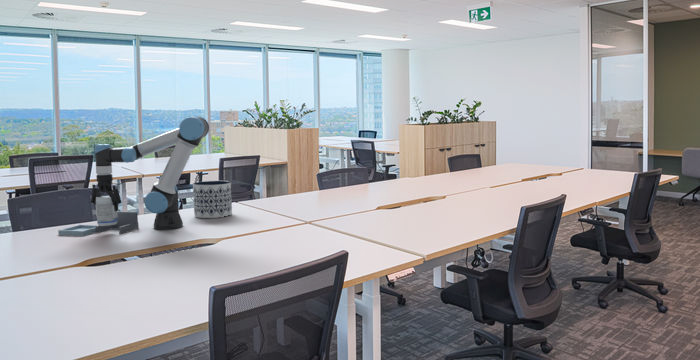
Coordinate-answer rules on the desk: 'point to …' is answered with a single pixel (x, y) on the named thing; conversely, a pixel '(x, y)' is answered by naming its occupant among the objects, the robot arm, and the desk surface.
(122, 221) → the bay
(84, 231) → the tray
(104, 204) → the supplement tub
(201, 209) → the planter
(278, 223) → the desk surface
